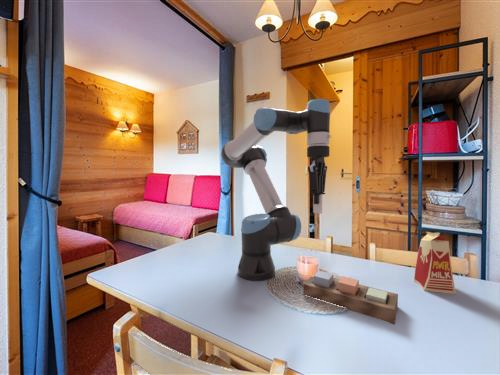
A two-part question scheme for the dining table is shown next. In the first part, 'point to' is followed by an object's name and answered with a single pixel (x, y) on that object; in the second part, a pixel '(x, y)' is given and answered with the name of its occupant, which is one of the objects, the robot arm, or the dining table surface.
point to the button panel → (354, 300)
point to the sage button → (377, 295)
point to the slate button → (323, 279)
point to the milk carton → (434, 265)
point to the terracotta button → (348, 285)
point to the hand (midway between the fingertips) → (317, 212)
